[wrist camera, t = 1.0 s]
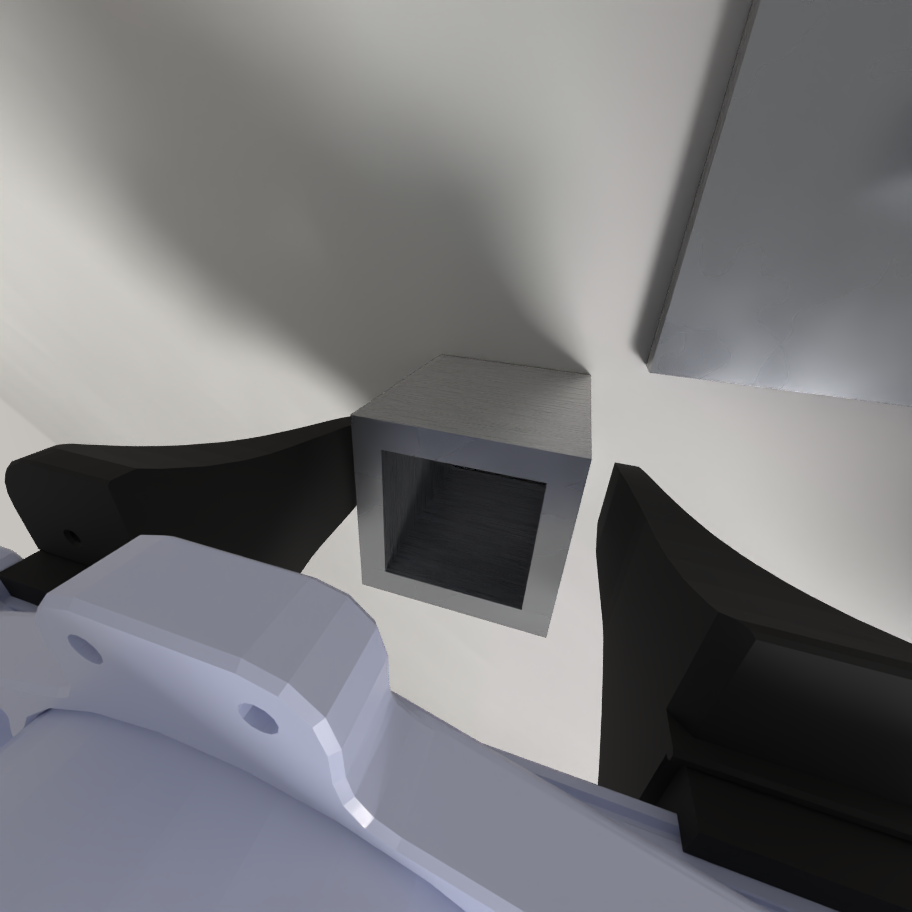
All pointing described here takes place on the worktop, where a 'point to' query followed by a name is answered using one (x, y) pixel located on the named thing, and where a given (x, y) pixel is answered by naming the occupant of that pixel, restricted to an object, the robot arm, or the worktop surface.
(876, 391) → the duct flange
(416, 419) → the sleeve
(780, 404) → the worktop surface
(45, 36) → the worktop surface
